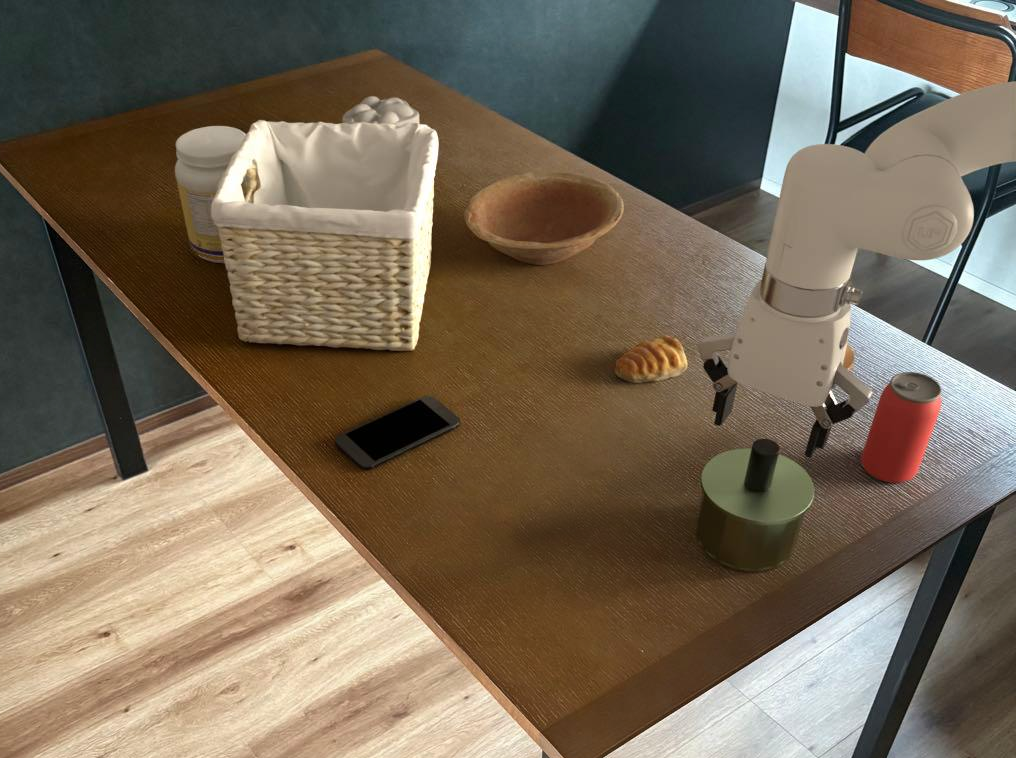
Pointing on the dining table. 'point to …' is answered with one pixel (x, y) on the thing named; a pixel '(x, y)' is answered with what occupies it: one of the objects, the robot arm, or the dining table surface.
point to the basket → (329, 232)
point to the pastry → (652, 361)
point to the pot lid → (757, 485)
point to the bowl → (543, 215)
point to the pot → (744, 540)
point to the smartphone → (396, 432)
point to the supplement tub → (204, 181)
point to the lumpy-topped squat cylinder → (382, 112)
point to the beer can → (902, 427)
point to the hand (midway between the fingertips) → (766, 434)
